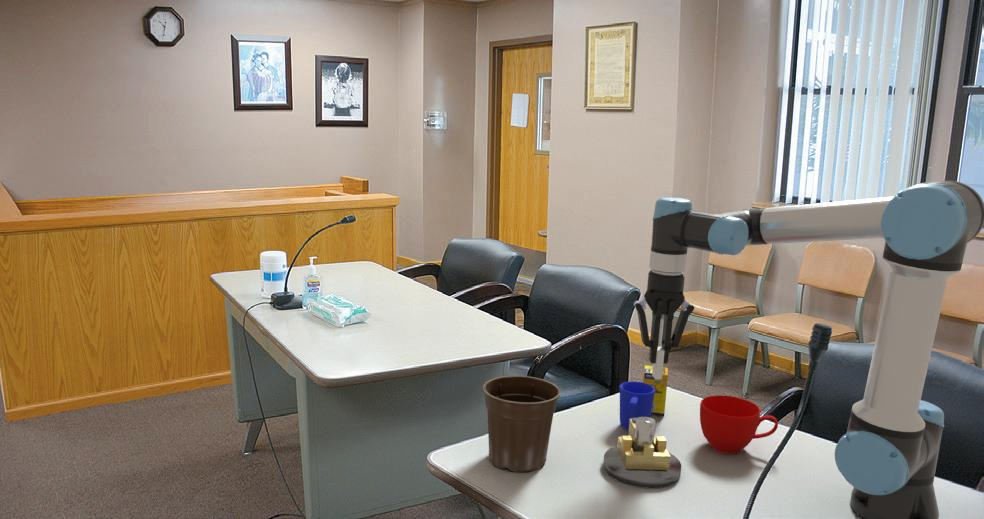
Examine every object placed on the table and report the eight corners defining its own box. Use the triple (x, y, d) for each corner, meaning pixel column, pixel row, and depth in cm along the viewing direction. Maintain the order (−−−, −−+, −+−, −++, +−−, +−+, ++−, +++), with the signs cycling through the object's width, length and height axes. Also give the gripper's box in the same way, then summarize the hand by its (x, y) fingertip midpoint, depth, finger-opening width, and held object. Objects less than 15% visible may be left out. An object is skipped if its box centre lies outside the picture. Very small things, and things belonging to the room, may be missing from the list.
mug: (611, 437, 179) (615, 396, 177) (619, 418, 191) (622, 379, 189) (648, 443, 177) (651, 401, 175) (653, 423, 188) (656, 384, 186)
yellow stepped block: (669, 469, 159) (671, 445, 158) (625, 468, 159) (627, 444, 158) (652, 440, 173) (654, 417, 172) (612, 439, 173) (614, 416, 172)
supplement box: (664, 417, 192) (668, 375, 190) (640, 414, 194) (643, 372, 191) (664, 408, 198) (668, 367, 196) (640, 405, 199) (643, 364, 197)
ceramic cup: (776, 467, 168) (781, 423, 166) (695, 454, 172) (699, 412, 170) (772, 442, 180) (777, 402, 178) (697, 431, 184) (701, 391, 182)
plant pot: (527, 437, 177) (531, 370, 174) (571, 466, 164) (576, 394, 161) (465, 452, 169) (468, 381, 165) (507, 484, 155) (511, 408, 152)
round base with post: (693, 468, 165) (697, 420, 163) (659, 496, 153) (664, 444, 151) (626, 446, 175) (629, 399, 173) (589, 470, 163) (592, 421, 160)
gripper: (692, 268, 168) (681, 372, 173) (632, 266, 168) (623, 370, 173) (702, 276, 161) (691, 384, 166) (640, 274, 160) (630, 382, 165)
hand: (656, 377), depth 169 cm, fingers closed
